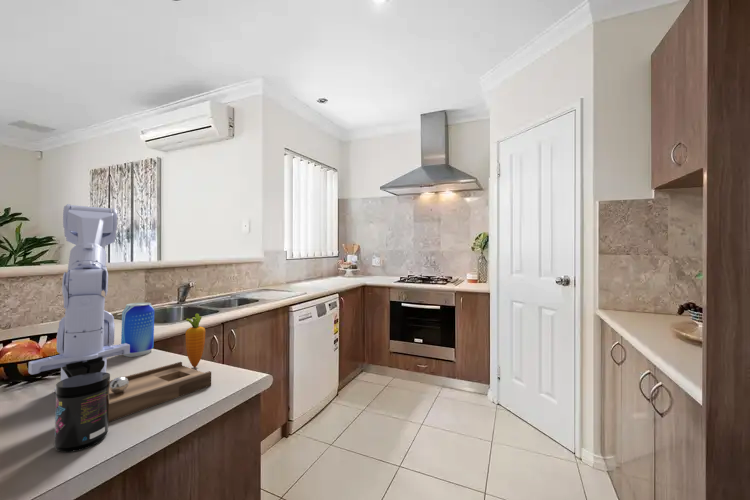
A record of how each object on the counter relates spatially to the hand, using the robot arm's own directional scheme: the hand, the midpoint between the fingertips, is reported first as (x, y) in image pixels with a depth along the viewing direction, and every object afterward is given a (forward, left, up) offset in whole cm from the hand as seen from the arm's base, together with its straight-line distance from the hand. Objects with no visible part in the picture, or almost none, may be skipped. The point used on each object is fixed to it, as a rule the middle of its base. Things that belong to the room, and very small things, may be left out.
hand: (82, 399), depth 61 cm
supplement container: (+11, -3, -3) cm, 12 cm away
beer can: (-38, +24, -3) cm, 45 cm away
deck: (0, +11, -3) cm, 12 cm away
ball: (0, +6, +1) cm, 6 cm away
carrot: (-9, +27, -3) cm, 29 cm away
